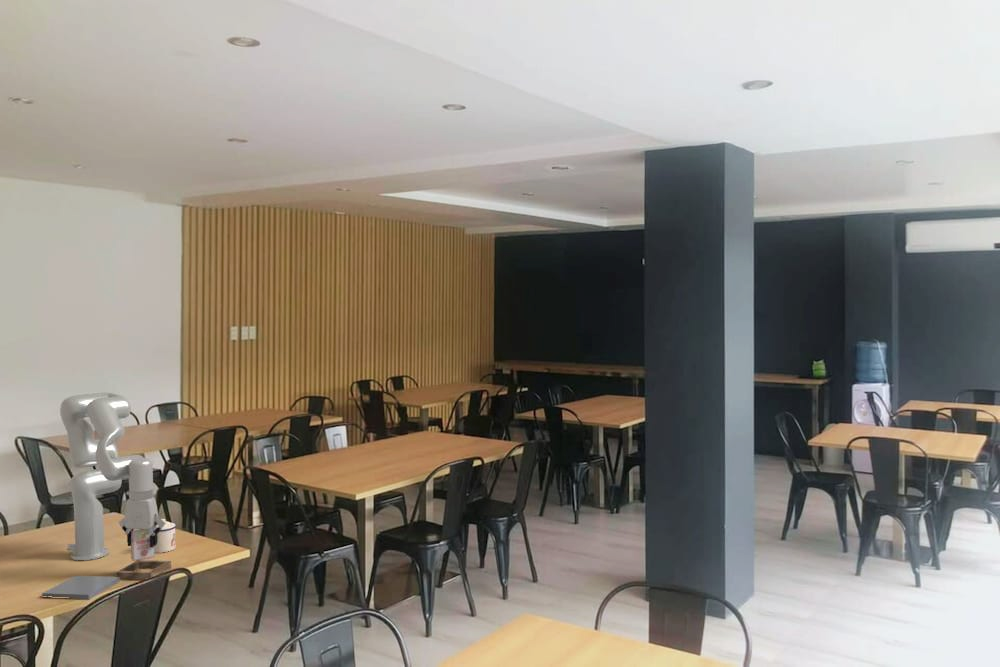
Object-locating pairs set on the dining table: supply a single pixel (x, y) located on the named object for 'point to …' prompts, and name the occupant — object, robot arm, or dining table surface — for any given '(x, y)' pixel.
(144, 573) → the tray
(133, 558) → the white red printed box
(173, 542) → the teacup with lid
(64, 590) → the grey tile
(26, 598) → the dining table surface
